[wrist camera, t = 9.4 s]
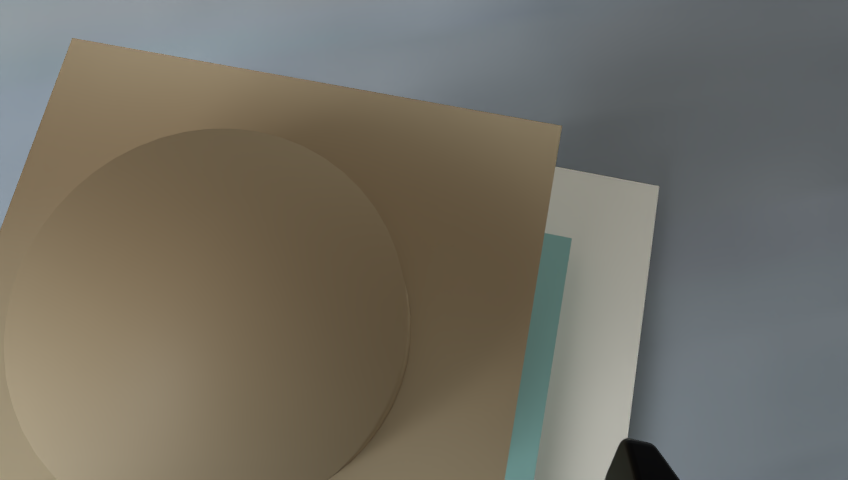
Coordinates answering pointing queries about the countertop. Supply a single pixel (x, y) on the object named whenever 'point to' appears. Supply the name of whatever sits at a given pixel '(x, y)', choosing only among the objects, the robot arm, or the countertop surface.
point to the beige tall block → (264, 278)
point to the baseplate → (583, 328)
